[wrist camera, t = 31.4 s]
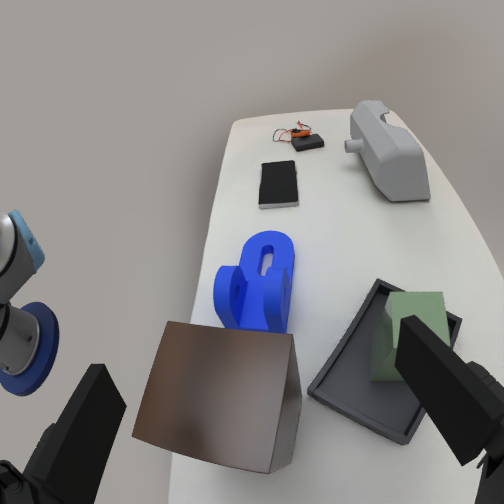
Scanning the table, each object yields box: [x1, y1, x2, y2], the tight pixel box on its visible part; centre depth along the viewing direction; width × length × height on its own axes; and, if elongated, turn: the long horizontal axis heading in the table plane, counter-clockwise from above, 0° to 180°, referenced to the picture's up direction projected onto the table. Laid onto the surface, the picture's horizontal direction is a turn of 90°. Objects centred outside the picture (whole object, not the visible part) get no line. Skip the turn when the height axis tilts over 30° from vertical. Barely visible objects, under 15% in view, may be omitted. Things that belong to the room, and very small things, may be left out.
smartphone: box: [258, 160, 299, 209], centre depth 60 cm, size 8×1×15 cm
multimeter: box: [273, 121, 324, 151], centre depth 73 cm, size 18×12×3 cm, turn 6°
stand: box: [132, 321, 302, 474], centre depth 23 cm, size 9×9×20 cm
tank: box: [345, 101, 431, 202], centre depth 54 cm, size 25×16×12 cm, turn 178°
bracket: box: [213, 231, 295, 334], centre depth 42 cm, size 18×8×9 cm, turn 170°
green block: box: [370, 292, 450, 382], centre depth 28 cm, size 6×6×12 cm
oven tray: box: [307, 278, 462, 445], centre depth 32 cm, size 15×19×3 cm
